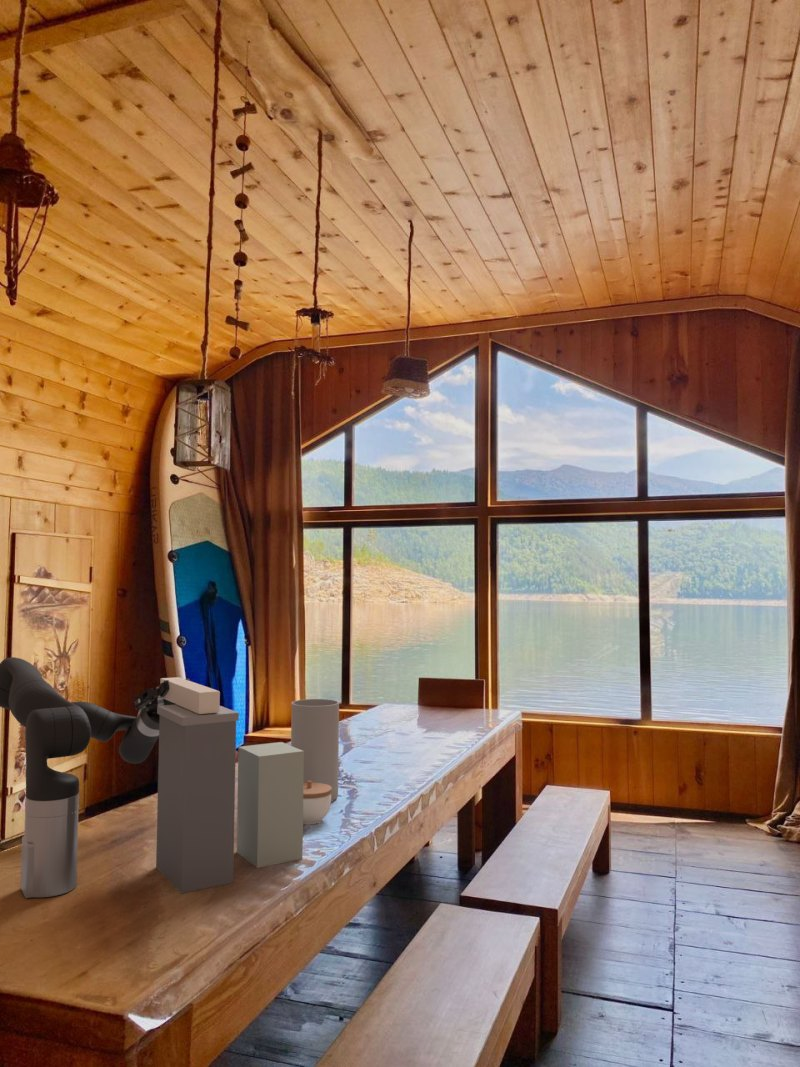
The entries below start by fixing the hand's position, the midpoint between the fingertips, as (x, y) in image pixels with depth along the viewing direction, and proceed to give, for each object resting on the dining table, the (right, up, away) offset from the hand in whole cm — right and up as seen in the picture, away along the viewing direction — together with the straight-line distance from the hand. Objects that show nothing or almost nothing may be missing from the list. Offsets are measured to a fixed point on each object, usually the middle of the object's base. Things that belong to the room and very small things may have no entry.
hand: (178, 683), depth 171 cm
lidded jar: (+25, -37, +24) cm, 51 cm away
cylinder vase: (+24, -38, +43) cm, 63 cm away
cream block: (+4, -3, -6) cm, 7 cm away
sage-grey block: (+19, -36, -1) cm, 41 cm away
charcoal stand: (+6, -35, -12) cm, 38 cm away
